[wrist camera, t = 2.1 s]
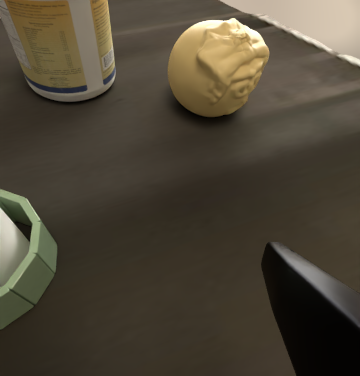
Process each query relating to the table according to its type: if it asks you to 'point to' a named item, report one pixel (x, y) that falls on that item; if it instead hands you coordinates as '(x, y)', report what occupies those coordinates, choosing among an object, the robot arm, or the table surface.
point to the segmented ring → (27, 261)
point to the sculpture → (216, 66)
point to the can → (10, 248)
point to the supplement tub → (62, 46)
